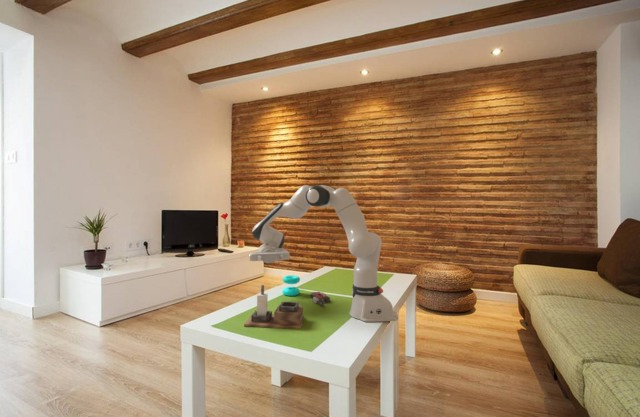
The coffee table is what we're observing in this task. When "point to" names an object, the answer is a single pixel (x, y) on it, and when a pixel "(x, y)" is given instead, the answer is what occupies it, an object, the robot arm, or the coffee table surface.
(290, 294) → the donuts
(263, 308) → the plug
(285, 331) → the coffee table surface
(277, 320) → the brown wooden stepped base
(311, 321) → the coffee table surface
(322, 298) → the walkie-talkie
